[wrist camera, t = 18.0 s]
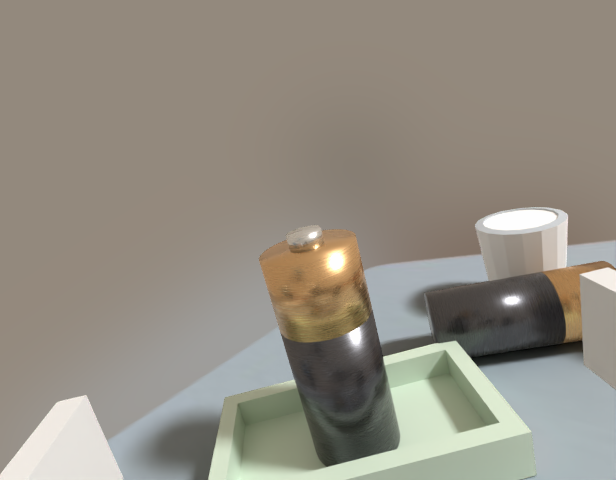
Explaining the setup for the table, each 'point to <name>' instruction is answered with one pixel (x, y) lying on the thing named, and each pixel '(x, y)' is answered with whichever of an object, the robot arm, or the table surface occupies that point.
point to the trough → (411, 420)
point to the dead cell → (511, 311)
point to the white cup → (523, 241)
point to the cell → (332, 343)
